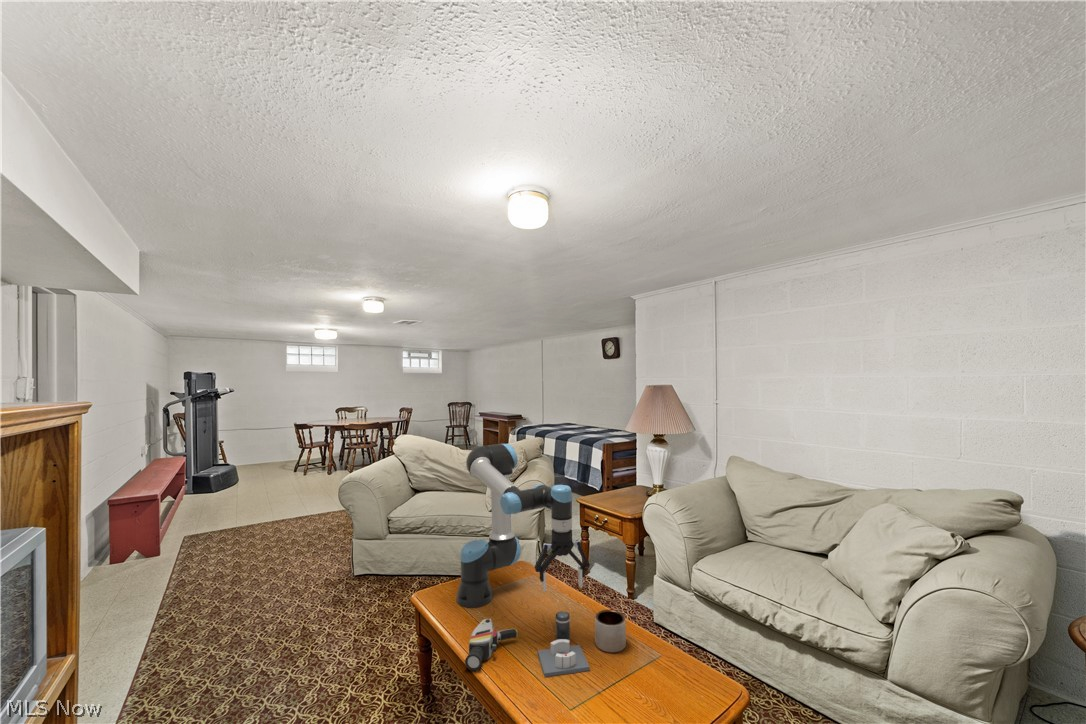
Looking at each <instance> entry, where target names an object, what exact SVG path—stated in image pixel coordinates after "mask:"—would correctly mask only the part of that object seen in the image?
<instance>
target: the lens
mask: <svg viewBox="0 0 1086 724" xmlns="http://www.w3.org/2000/svg"><path fill="white" fill-rule="evenodd" d="M570 619H571V618H570V613H569V612H567V611H565V610H564V611H558V612H556V613H555V640H558V639H566V640H570V641H571V638H570V637H571V633H570V632H571V628H570V627H571V626H570V625H571V623H570V622H571V621H570Z"/></svg>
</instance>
